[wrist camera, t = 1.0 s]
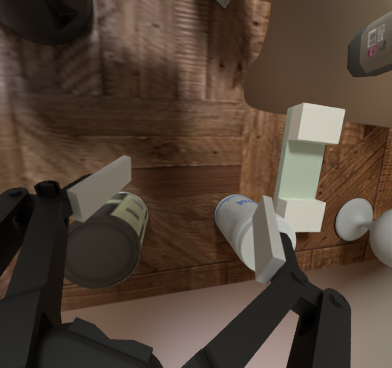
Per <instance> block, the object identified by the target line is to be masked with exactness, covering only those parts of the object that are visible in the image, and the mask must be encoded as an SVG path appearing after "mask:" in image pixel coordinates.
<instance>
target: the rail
mask: <svg viewBox="0 0 392 368" xmlns="http://www.w3.org/2000/svg"><path fill="white" fill-rule="evenodd" d="M344 114H345V110H344V109H339V108H332V107H327V106H321V105H314V104H308V103H302V104H299V105H297V106H294V107H291V108H288V112H287V118H286V125H285V131H284V137H283V144H282V150H281V156H280V163H279V169H278V175H277V182H276V188H275V194H274V201H273V207H274V211H275V213H276V214H278V215H279V216H281V217H282V218H283V219H285V220H286V221H287V222H289V223H290V225H291V226H292V227H293V229H294V232H320V229H321V225H322V220H323V215H324V210H325V205H326V203H325V202H322V201H319V200H315V196H316V191H317V186H318V180H319V175H320V170H321V165H322V160H323V155H324V150H325V145H329V144H338V143H339V138H340V133H341V128H342V123H343V118H344Z"/></svg>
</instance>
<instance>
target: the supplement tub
mask: <svg viewBox="0 0 392 368" xmlns="http://www.w3.org/2000/svg"><path fill="white" fill-rule="evenodd" d="M257 206H258V203H256V202H254V201H252V200H250V199H249V198H247V197H245V196H242V195H230V196H228V197H226V198H224V199H223V200H222V201H221V202H220V203H219V204H218V206H217V207H216V210H215V222H216V224H217V226H218V228H219V229H220V231H221V232H222V233H223V235H224V236H225V238H226V239H227V241H228V242H229V244H230V245H231V246H232V248H233V249H234V251H235V252H236V254H237V255H238V256H239V258H240V259H241V261H242V262H243V263H245V265H246V266H247V267H248V268H250V269H251V270H253V271H255V259H254V241H253V223H252V216H253V214H254V212H255V210H256V208H257ZM275 215H276V220H277V224H278V229H279V231H280V232H283V233H286V234H287V235H288V236H289V238H290V239H291V242H292V245H293V246H292V247H293V249H295V246H296V235H295V232H294V229H293V227H292V226H291V225H290V223H289V222H287V221H286V220H285V219H283V218H282V217H281V216H279V215H278V214H276V213H275Z"/></svg>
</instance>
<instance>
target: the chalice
mask: <svg viewBox="0 0 392 368" xmlns="http://www.w3.org/2000/svg"><path fill="white" fill-rule="evenodd" d="M372 219H373V210H372V207H371V205H370V203H369V202H368V201H367V200H365V199H362V198H356V199H352V200H350V201H348V202H347V203H346V204H345V205H344V206H343V207H342V208H341V209H340V211H339V212H338V215H337V217H336V222H335V228H336V232H337V234H338V236H339V237H340V238H342V239H343V240H346V241H352V240H356V239H358V238H360V237H361V236H363V235H364V234H365V233H366V232H367V230H368V229H369V230H370V246H371V249H372V251H373V253H374V254H375V256H376V257H377V258H378V259H379V260H380V261H381V262H383V263H384V264H386V265H388V266H390V267H392V209H389V210H387V211H386V212H385V213H383V214H382V215H381V216H380V217H379V218H378V219H377V220H376V221H373V222H372Z"/></svg>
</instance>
